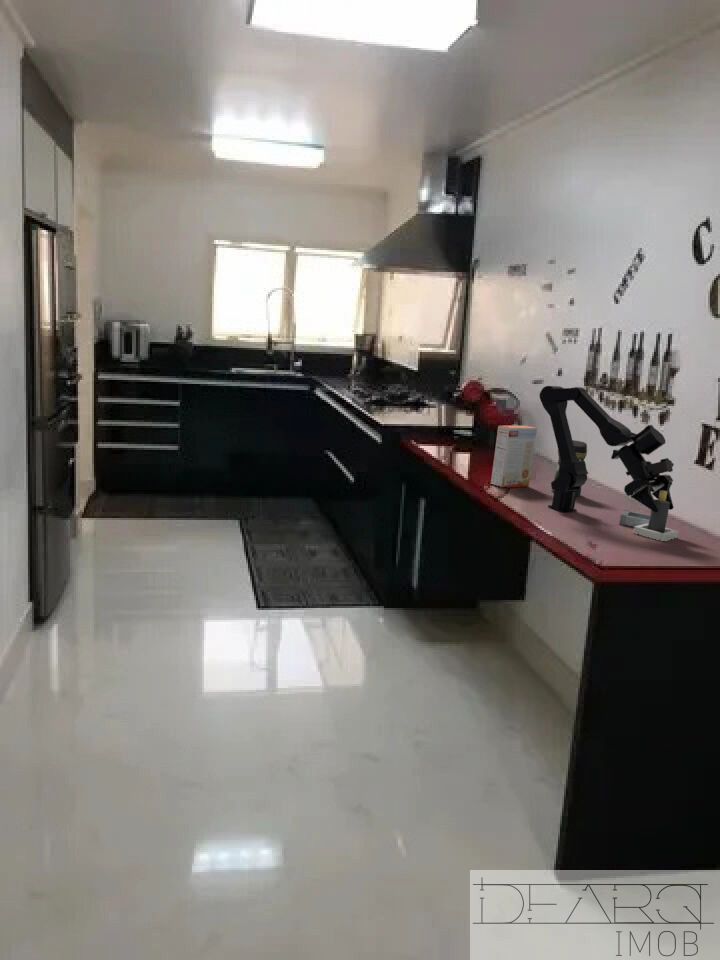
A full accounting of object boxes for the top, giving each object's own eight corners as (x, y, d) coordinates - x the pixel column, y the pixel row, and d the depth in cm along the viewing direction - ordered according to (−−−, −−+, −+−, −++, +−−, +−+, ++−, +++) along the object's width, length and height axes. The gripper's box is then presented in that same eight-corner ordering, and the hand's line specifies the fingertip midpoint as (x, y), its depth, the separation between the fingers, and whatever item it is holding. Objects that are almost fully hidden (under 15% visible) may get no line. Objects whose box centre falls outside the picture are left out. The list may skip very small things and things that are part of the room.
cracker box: (516, 483, 284) (525, 425, 280) (529, 486, 279) (538, 427, 275) (488, 484, 276) (497, 424, 271) (501, 488, 271) (510, 427, 267)
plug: (651, 537, 224) (659, 492, 221) (642, 532, 229) (650, 488, 226) (668, 538, 225) (677, 493, 222) (658, 533, 230) (667, 489, 227)
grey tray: (619, 524, 236) (620, 515, 236) (623, 518, 244) (625, 510, 244) (661, 532, 231) (663, 523, 231) (664, 527, 239) (666, 518, 239)
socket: (664, 541, 220) (665, 534, 220) (633, 533, 226) (634, 526, 226) (677, 537, 227) (678, 531, 227) (646, 529, 233) (647, 523, 233)
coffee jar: (576, 492, 278) (585, 440, 275) (582, 497, 271) (591, 443, 267) (549, 489, 279) (557, 437, 275) (553, 494, 271) (562, 440, 267)
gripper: (642, 449, 218) (673, 497, 213) (672, 447, 231) (702, 493, 226) (611, 471, 225) (640, 518, 220) (642, 468, 238) (670, 513, 233)
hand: (664, 510), depth 224 cm, fingers open, 9 cm apart
